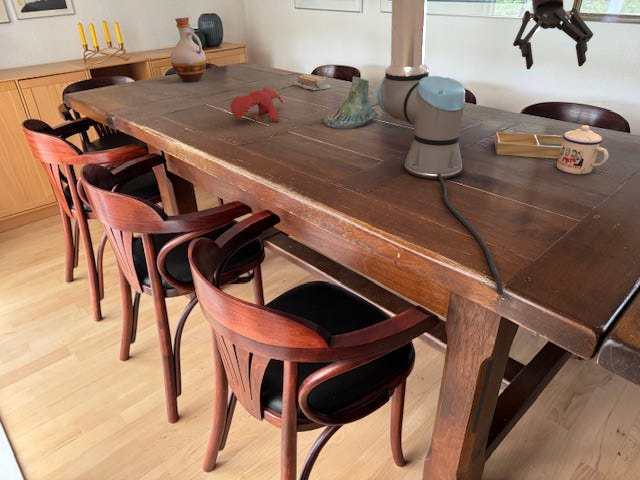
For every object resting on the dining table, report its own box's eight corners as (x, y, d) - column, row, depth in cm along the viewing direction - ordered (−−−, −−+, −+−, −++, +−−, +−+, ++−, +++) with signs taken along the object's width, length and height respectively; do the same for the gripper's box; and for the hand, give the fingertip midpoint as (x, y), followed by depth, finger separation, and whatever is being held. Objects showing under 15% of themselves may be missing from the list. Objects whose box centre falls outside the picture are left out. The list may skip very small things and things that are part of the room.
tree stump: (314, 119, 171) (323, 69, 164) (360, 126, 179) (371, 79, 172) (333, 130, 155) (344, 75, 149) (382, 136, 163) (395, 85, 157)
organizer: (578, 160, 128) (581, 148, 126) (496, 154, 133) (498, 143, 132) (570, 147, 137) (573, 136, 136) (494, 142, 143) (496, 131, 141)
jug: (218, 79, 239) (210, 16, 224) (193, 85, 226) (183, 19, 211) (192, 76, 249) (182, 15, 233) (166, 82, 236) (155, 18, 220)
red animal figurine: (289, 122, 182) (266, 91, 181) (302, 108, 175) (279, 76, 174) (244, 142, 161) (218, 107, 160) (258, 127, 155) (231, 91, 154)
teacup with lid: (548, 167, 124) (558, 125, 118) (567, 160, 128) (578, 119, 122) (591, 181, 115) (605, 136, 109) (610, 173, 119) (624, 129, 113)
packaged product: (330, 77, 213) (313, 80, 208) (330, 88, 215) (313, 91, 211) (309, 72, 226) (292, 74, 221) (310, 82, 228) (293, 85, 223)
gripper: (586, 3, 129) (597, 70, 124) (497, 9, 131) (504, 75, 126) (600, -17, 122) (612, 53, 117) (505, -10, 124) (513, 59, 119)
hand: (556, 65), depth 122 cm, fingers open, 13 cm apart
